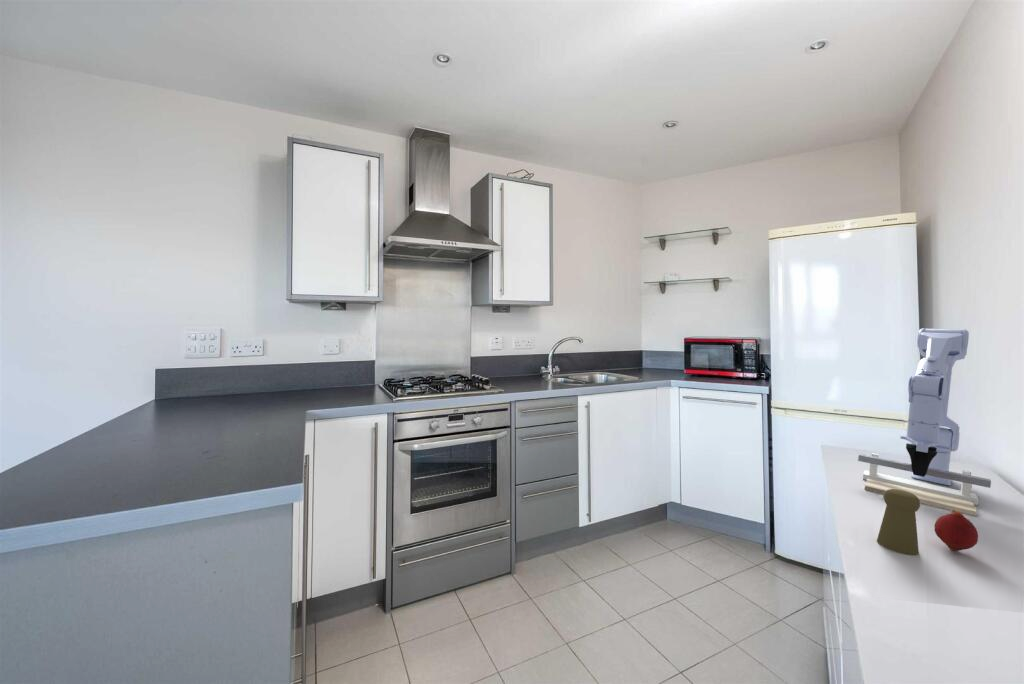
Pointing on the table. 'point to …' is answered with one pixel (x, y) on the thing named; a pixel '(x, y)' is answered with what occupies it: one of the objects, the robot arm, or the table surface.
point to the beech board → (925, 497)
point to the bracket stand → (923, 484)
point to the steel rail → (930, 471)
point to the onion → (956, 531)
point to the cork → (900, 522)
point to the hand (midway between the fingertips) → (918, 474)
